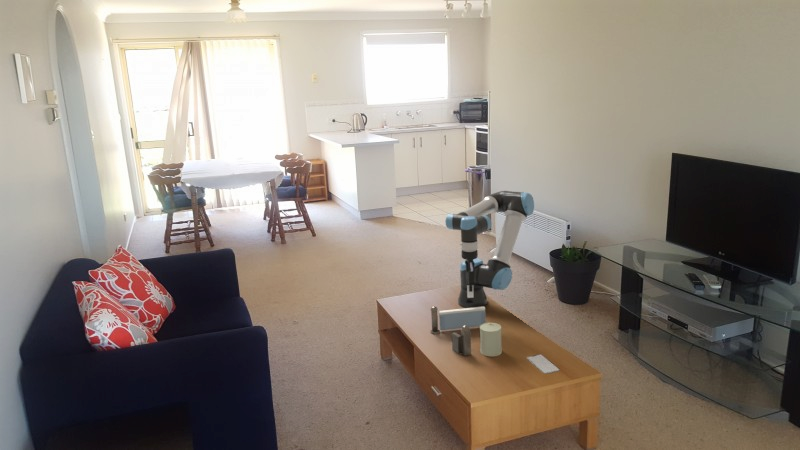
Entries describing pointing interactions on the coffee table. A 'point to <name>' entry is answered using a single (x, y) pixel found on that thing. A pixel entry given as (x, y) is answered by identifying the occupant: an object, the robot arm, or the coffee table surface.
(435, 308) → the hinge post
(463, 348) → the latch post
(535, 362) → the smartphone
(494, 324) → the can
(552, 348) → the coffee table surface
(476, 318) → the gate
